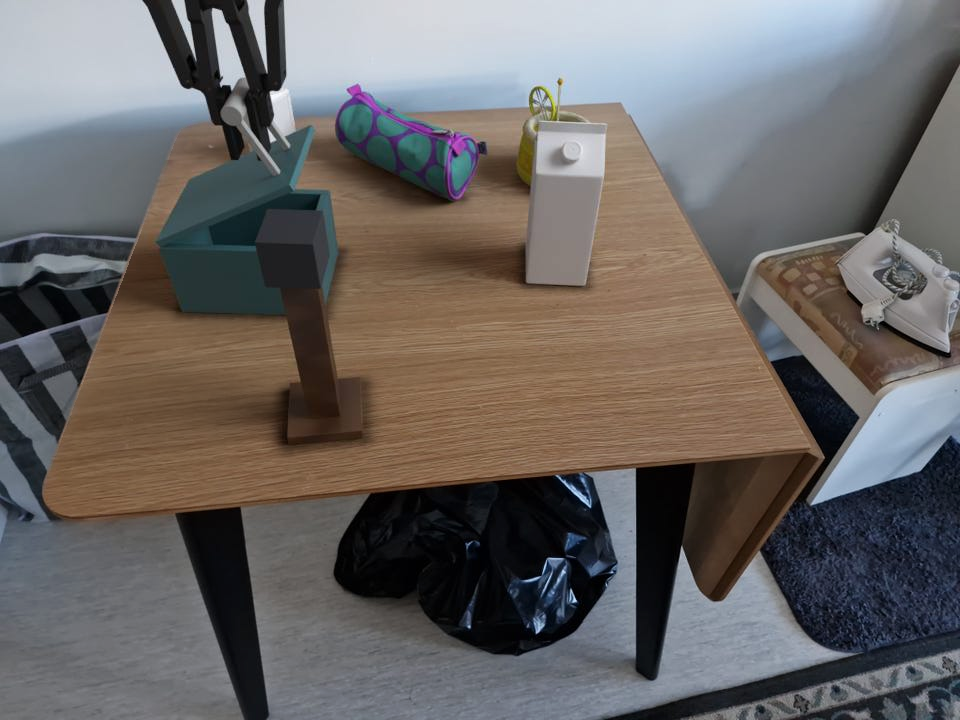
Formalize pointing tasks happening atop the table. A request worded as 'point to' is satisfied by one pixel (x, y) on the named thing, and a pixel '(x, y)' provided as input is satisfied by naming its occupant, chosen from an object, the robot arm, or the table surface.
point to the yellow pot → (531, 129)
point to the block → (293, 248)
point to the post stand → (318, 376)
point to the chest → (238, 260)
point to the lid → (239, 176)
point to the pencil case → (408, 145)
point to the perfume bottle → (279, 114)
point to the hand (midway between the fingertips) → (251, 153)
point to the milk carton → (564, 201)
